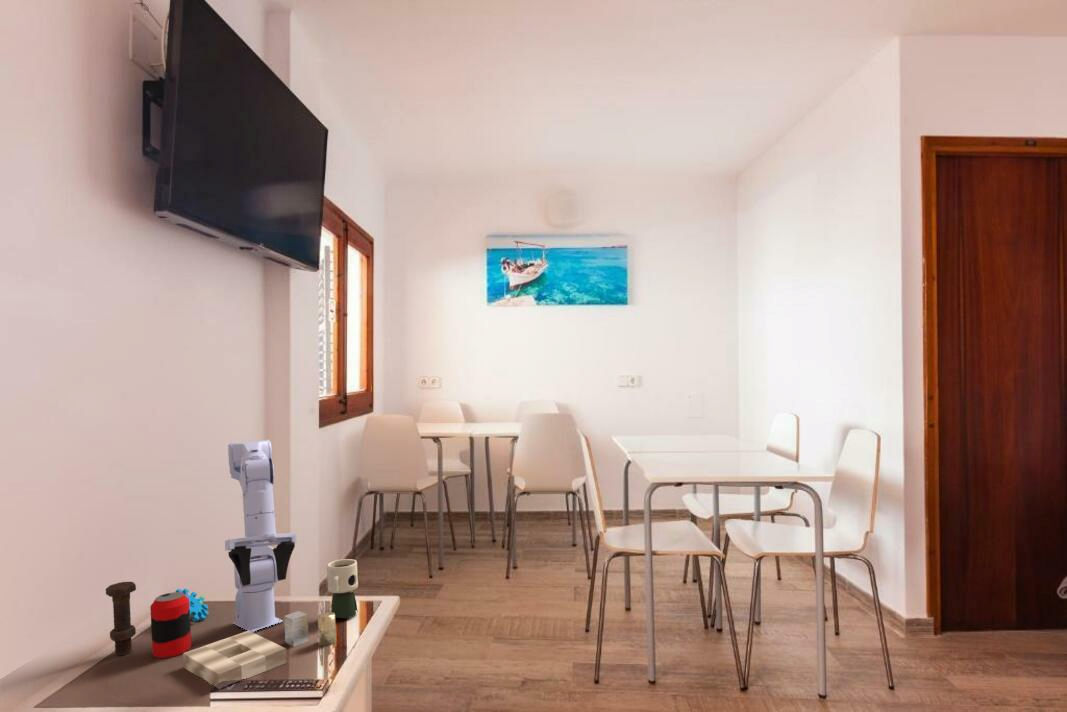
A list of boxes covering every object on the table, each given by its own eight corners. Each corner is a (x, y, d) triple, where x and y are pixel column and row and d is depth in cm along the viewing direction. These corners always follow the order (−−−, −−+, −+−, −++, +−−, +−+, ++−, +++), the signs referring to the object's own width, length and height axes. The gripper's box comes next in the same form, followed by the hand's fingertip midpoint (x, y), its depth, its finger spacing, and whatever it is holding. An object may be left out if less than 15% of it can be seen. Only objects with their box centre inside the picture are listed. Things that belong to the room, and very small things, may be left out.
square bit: (285, 642, 152) (284, 615, 152) (299, 637, 155) (298, 610, 155) (293, 646, 150) (292, 619, 150) (308, 641, 152) (307, 614, 152)
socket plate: (183, 667, 141) (183, 653, 141) (249, 643, 152) (248, 630, 152) (219, 689, 131) (218, 674, 131) (286, 662, 142) (285, 648, 142)
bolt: (123, 659, 147) (120, 590, 147) (103, 658, 148) (100, 589, 148) (143, 648, 152) (140, 581, 152) (124, 647, 153) (121, 580, 153)
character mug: (351, 624, 160) (349, 569, 160) (322, 625, 161) (319, 570, 161) (365, 607, 171) (363, 556, 171) (337, 608, 172) (335, 556, 172)
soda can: (180, 641, 155) (178, 588, 155) (198, 648, 151) (195, 594, 151) (146, 653, 149) (143, 599, 149) (163, 661, 145) (160, 605, 145)
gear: (194, 621, 163) (167, 591, 164) (177, 639, 162) (150, 609, 164) (219, 610, 174) (194, 582, 175) (203, 627, 173) (178, 599, 175)
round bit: (316, 643, 151) (314, 616, 151) (330, 637, 154) (329, 610, 154) (325, 647, 149) (323, 619, 149) (339, 641, 151) (338, 614, 151)
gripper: (235, 514, 136) (238, 584, 132) (301, 509, 146) (307, 574, 142) (219, 521, 140) (222, 589, 136) (284, 516, 151) (289, 579, 147)
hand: (264, 582), depth 139 cm, fingers open, 7 cm apart
